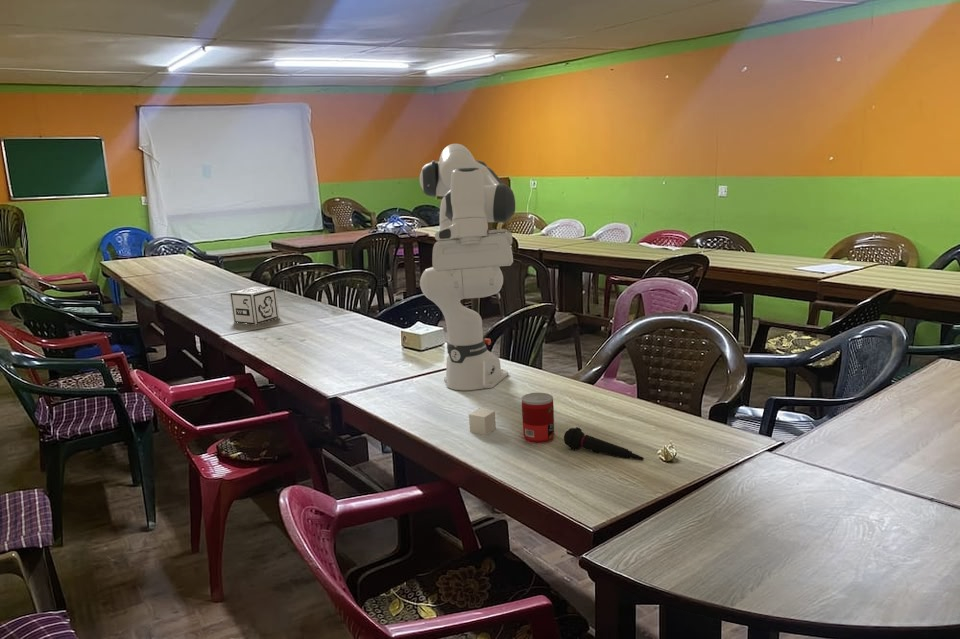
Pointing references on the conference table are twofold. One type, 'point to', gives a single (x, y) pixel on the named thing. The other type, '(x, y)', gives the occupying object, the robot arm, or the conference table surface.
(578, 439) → the microphone
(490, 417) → the cream cube
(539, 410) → the canned food
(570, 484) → the conference table surface
